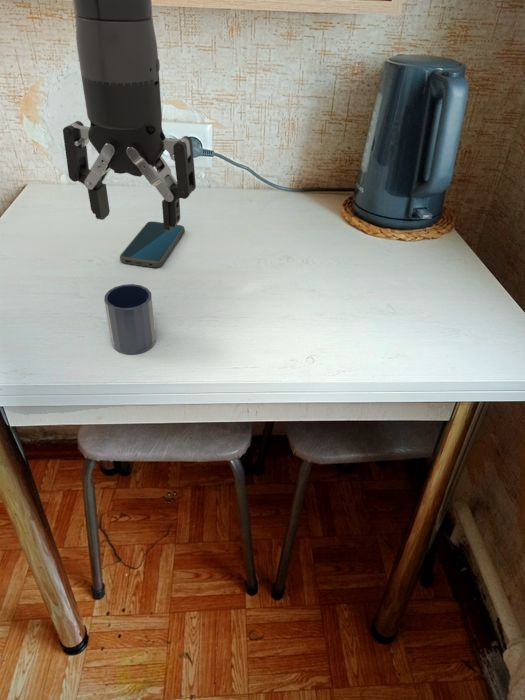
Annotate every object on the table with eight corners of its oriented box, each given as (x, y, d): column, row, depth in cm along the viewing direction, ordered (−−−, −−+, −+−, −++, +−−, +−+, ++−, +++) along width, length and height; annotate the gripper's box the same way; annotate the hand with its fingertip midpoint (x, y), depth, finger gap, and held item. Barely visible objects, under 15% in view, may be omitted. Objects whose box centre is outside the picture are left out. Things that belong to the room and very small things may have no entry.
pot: (121, 360, 68) (114, 314, 63) (105, 336, 72) (97, 291, 67) (162, 346, 71) (159, 301, 66) (145, 323, 75) (140, 279, 70)
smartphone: (117, 262, 87) (117, 257, 87) (148, 224, 99) (148, 220, 98) (160, 268, 86) (160, 263, 86) (186, 229, 98) (186, 225, 97)
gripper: (33, 69, 48) (65, 226, 59) (174, 86, 46) (182, 246, 57) (73, 56, 54) (96, 201, 64) (201, 70, 52) (203, 218, 62)
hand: (136, 222), depth 61 cm, fingers open, 8 cm apart
